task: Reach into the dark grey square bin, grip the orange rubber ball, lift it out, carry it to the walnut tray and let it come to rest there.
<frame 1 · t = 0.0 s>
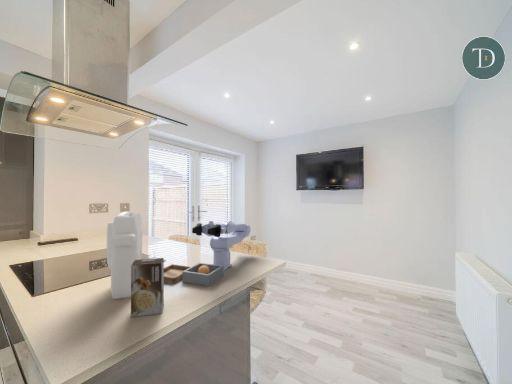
hand: (200, 231, 98), 22 cm above the counter, tool horizontal, fingers open, 7 cm apart
ball: (203, 271, 101), point 3 cm above the counter, touching bin
coffee box: (148, 311, 73), on the counter
bin: (203, 278, 101), on the counter
tray: (172, 275, 104), on the counter
white tall piece: (123, 289, 90), on the counter
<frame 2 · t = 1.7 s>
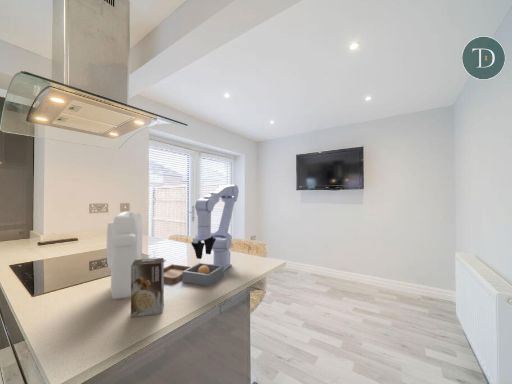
hand: (203, 256, 101), 10 cm above the counter, tool pointing down, fingers open, 7 cm apart
nothing on the counter moved.
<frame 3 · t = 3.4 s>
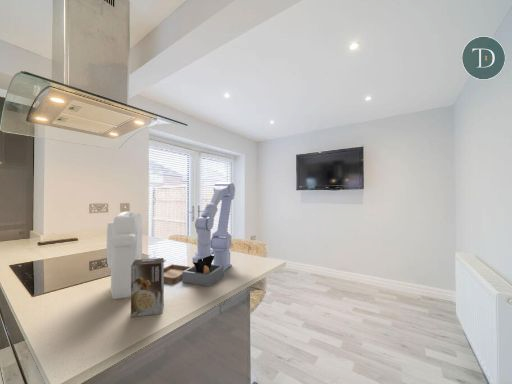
hand: (203, 274, 101), 2 cm above the counter, tool pointing down, fingers closed on ball, 5 cm apart
ball: (203, 271, 101), point 3 cm above the counter, touching bin, gripper
everything else where it was.
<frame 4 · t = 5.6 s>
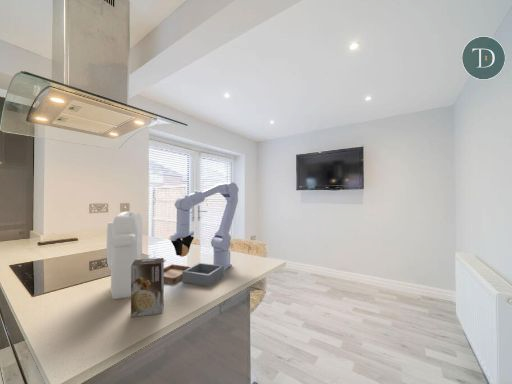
hand: (182, 253, 103), 10 cm above the counter, tool pointing down, fingers closed on ball, 5 cm apart
ball: (182, 250, 103), point 12 cm above the counter, touching gripper
everything else where it was.
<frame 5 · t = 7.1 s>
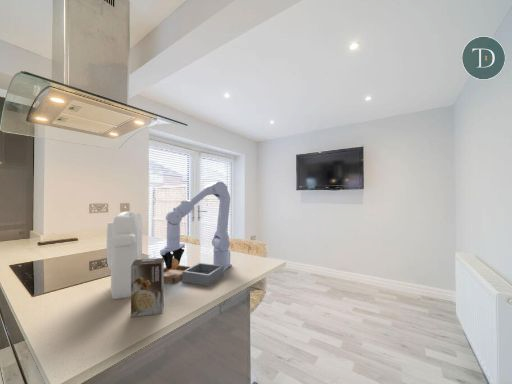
hand: (172, 266, 104), 4 cm above the counter, tool pointing down, fingers closed on ball, 5 cm apart
ball: (172, 264, 104), point 5 cm above the counter, touching gripper
everything else where it was.
when the fingers open (4 cm above the counter, at t = 8.2 s): ball drops 2 cm, resting on tray.
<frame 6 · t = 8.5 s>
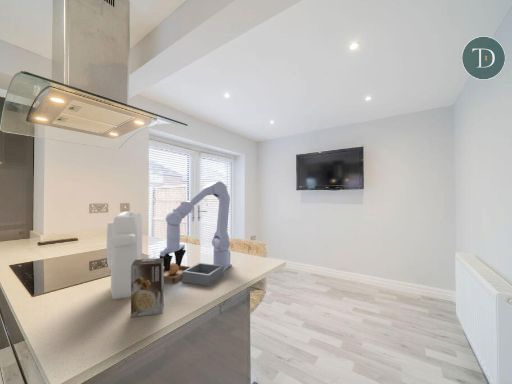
hand: (172, 268, 104), 4 cm above the counter, tool pointing down, fingers open, 7 cm apart
ball: (172, 268, 104), point 3 cm above the counter, touching tray
everything else where it was.
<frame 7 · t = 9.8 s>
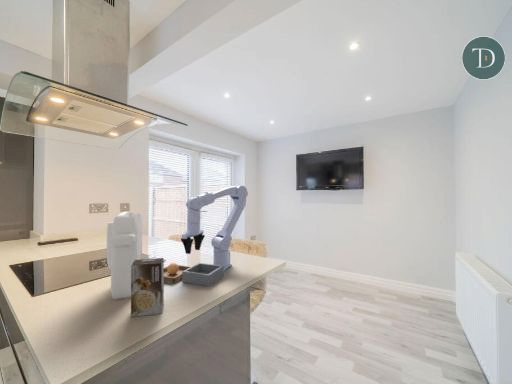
hand: (192, 251, 107), 10 cm above the counter, tool pointing down, fingers open, 7 cm apart
nothing on the counter moved.
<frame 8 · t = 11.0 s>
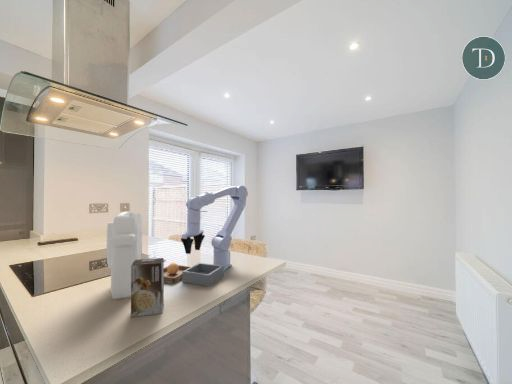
hand: (192, 251, 107), 10 cm above the counter, tool pointing down, fingers open, 7 cm apart
nothing on the counter moved.
at the end: ball inside the target area on the tray (0.1 cm from its centre), point 3.3 cm above the tray's base; the gripper is holding nothing; ball touching tray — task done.
